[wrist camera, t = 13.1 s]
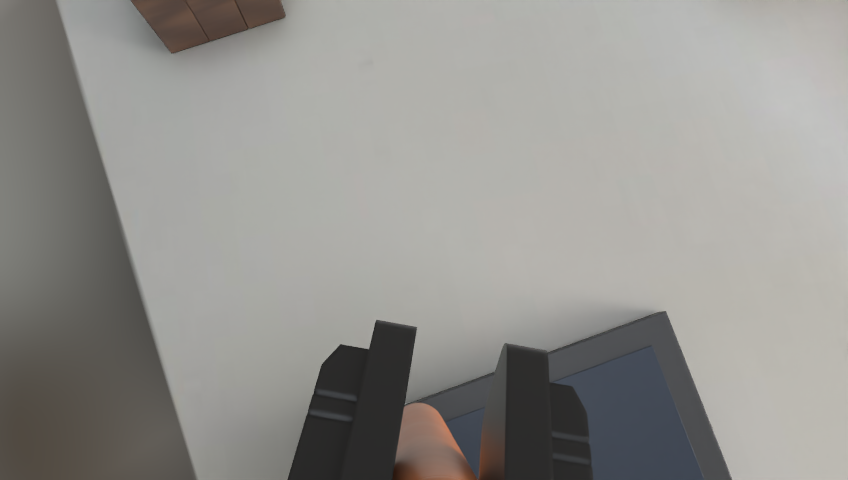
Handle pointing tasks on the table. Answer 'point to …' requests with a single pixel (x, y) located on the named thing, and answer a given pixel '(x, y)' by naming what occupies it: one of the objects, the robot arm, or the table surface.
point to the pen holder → (204, 18)
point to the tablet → (615, 406)
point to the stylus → (428, 448)
